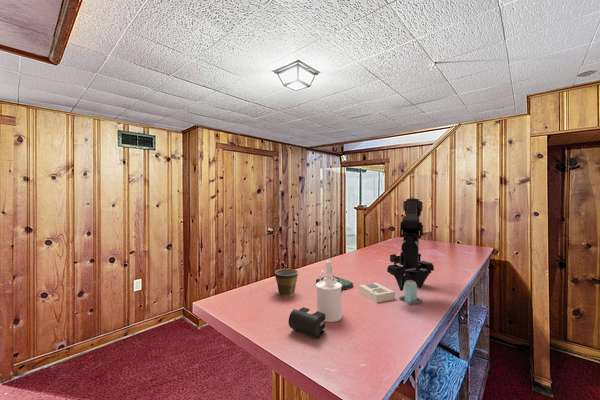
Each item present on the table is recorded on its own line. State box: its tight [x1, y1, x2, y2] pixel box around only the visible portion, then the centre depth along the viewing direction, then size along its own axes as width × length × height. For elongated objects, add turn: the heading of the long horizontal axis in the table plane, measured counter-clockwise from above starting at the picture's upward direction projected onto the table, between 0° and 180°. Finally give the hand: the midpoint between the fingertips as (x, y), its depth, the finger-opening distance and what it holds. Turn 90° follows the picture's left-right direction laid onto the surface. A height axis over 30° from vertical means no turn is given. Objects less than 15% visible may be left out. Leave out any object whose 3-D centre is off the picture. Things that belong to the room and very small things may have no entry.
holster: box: [398, 295, 423, 306], centre depth 109 cm, size 6×6×2 cm
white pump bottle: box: [315, 260, 343, 323], centre depth 98 cm, size 10×9×20 cm
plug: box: [404, 280, 418, 302], centre depth 109 cm, size 3×3×8 cm
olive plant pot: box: [273, 268, 299, 298], centre depth 119 cm, size 13×10×10 cm
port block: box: [358, 282, 396, 304], centre depth 115 cm, size 9×12×4 cm
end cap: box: [288, 306, 327, 339], centre depth 86 cm, size 10×7×7 cm
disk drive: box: [315, 275, 354, 292], centre depth 129 cm, size 10×3×15 cm
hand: (410, 289), depth 109 cm, fingers open, 9 cm apart
